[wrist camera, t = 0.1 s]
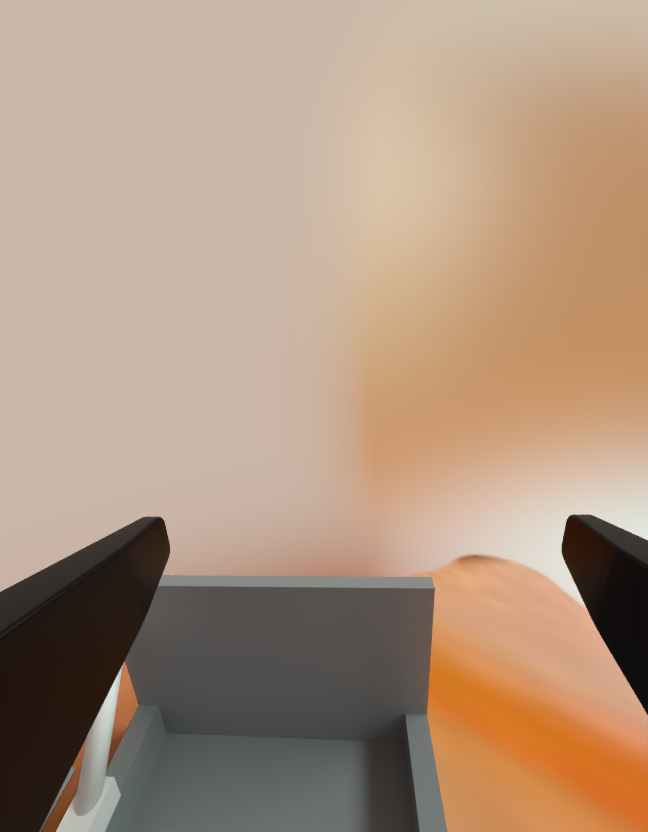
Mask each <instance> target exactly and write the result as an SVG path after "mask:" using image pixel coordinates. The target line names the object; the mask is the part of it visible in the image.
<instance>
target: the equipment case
mask: <svg viewBox="0 0 648 832" xmlns="http://www.w3.org/2000/svg"><path fill="white" fill-rule="evenodd" d="M434 591H435V588H434V584H433V580H432V577H310V576H309V577H307V576H305V577H303V576H301V577H300V576H170V575H162V576H161V579H160V582H159V584H158V587H157V590H156V592H155V595H154V598H153V600H152V603H151V606H150V608H149V611H148V613H147V615H146V618H145V620H144V622H143V624H142V627H141V629H140V631H139V633H138V635H137V637H136V639H135V641H134V643H133V645H132V647H131V649H130V651H129V653H128V655H127V657H126V659H125V662H126V666H127V669H128V672H129V675H130V678H131V682H132V685H133V688H134V691H135V694H136V697H137V701H138V704H139V705H138V707H137V709H136V711H135V713H134V716H133V718H132V720H131V722H130V724H129V726H128V728H127V730H126V732H125V734H124V736H123V738H122V740H121V742H120V744H119V746H118V748H117V750H116V752H115V754H114V756H113V759H112V761H111V763H110V765H109V767H108V769H107V764H108V758H109V751H110V745H111V738H112V732H113V725H114V718H115V712H116V705H117V699H118V692H119V686H120V679H121V673H122V667H121V669H120V671H119V673H118V675H117V677H116V679H115V681H114V683H113V685H112V687H111V689H110V691H109V693H108V695H107V697H106V699H105V701H104V703H103V705H102V707H101V709H100V711H99V713H98V715H97V717H96V719H95V721H94V723H93V725H92V727H91V729H90V731H89V733H88V735H87V738H86V744H85V750H84V756H83V762H82V768H81V773H80V779H79V785H78V790H77V792H76V794H75V796H74V798H73V800H72V802H71V804H70V806H69V808H68V809H67V811H66V813H65V815H64V817H63V819H62V821H61V823H60V825H59V827H58V829H57V830H56V832H447V828H446V822H445V817H444V811H443V805H442V799H441V793H440V788H439V782H438V776H437V770H436V765H435V759H434V753H433V747H432V741H431V736H430V730H429V724H428V718H427V704H428V688H429V672H430V656H431V640H432V624H433V607H434ZM122 666H123V665H122Z"/></svg>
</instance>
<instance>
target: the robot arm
mask: <svg viewBox="0 0 648 832" xmlns="http://www.w3.org/2000/svg"><path fill="white" fill-rule="evenodd" d="M169 554H170V544H169V540H168V535H167V531H166V526H165V522H164V520H163V519H162V518H161V517H143V518H141V519H139V520H137V521H135V522H133V523H131V524H129V525H127V526H126V527H123V528H122V529H120V530H118V531H116V532H114V533H112V534H110V535H108V536H107V537H105V538H102V539H101V540H99V541H97V542H95V543H93V544H91V545H89V546H87V547H85V548H83V549H81V550H80V551H78V552H76V553H74V554H72V555H70V556H68V557H67V558H64V559H62V560H60V561H58V562H57V563H55V564H53V565H51V566H49V567H47V568H45V569H43V570H41V571H40V572H37V573H36V574H34V575H32V576H30V577H28V578H26V579H24V580H22V581H20V582H18V583H16V584H15V585H13V586H11V587H9V588H7V589H5V590H3V591H1V592H0V832H40V830H41V828H42V826H43V824H44V822H45V820H46V818H47V816H48V814H49V812H50V810H51V808H52V805H53V803H54V801H55V799H56V797H57V795H58V793H59V791H60V789H61V787H62V785H63V783H64V781H65V779H66V777H67V775H68V773H69V771H70V769H71V767H72V765H73V763H74V761H75V759H76V757H77V755H78V753H79V751H80V749H81V747H82V745H83V743H84V741H85V739H86V737H87V735H88V733H89V731H90V729H91V727H92V725H93V723H94V721H95V719H96V717H97V715H98V713H99V711H100V709H101V707H102V705H103V703H104V701H105V699H106V697H107V695H108V693H109V691H110V689H111V687H112V685H113V683H114V681H115V679H116V677H117V675H118V673H119V671H120V669H121V667H122V665H123V663H124V661H125V659H126V657H127V655H128V653H129V651H130V649H131V647H132V645H133V643H134V641H135V639H136V637H137V635H138V633H139V631H140V629H141V627H142V624H143V622H144V620H145V618H146V615H147V613H148V611H149V608H150V606H151V603H152V600H153V598H154V595H155V592H156V590H157V587H158V584H159V582H160V579H161V576H162V574H163V571H164V569H165V566H166V563H167V561H168V558H169ZM562 555H563V558H564V560H565V563H566V565H567V567H568V569H569V571H570V573H571V575H572V578H573V580H574V582H575V584H576V586H577V588H578V590H579V593H580V595H581V597H582V599H583V601H584V603H585V606H586V608H587V610H588V612H589V614H590V616H591V618H592V620H593V622H594V624H595V626H596V628H597V630H598V631H599V633H600V635H601V637H602V639H603V640H604V642H605V644H606V645H607V647H608V649H609V650H610V652H611V654H612V655H613V657H614V659H615V660H616V662H617V664H618V666H619V667H620V669H621V671H622V672H623V674H624V676H625V677H626V679H627V681H628V682H629V684H630V686H631V688H632V689H633V691H634V693H635V694H636V696H637V698H638V699H639V701H640V703H641V704H642V706H643V708H644V709H645V711H646V713H647V715H648V540H645V539H643V538H641V537H639V536H637V535H635V534H632V533H630V532H628V531H626V530H624V529H621V528H619V527H617V526H615V525H613V524H610V523H608V522H606V521H603V520H602V519H599V518H597V517H595V516H592V515H571V516H569V517H568V519H567V522H566V526H565V531H564V536H563V542H562Z"/></svg>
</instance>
